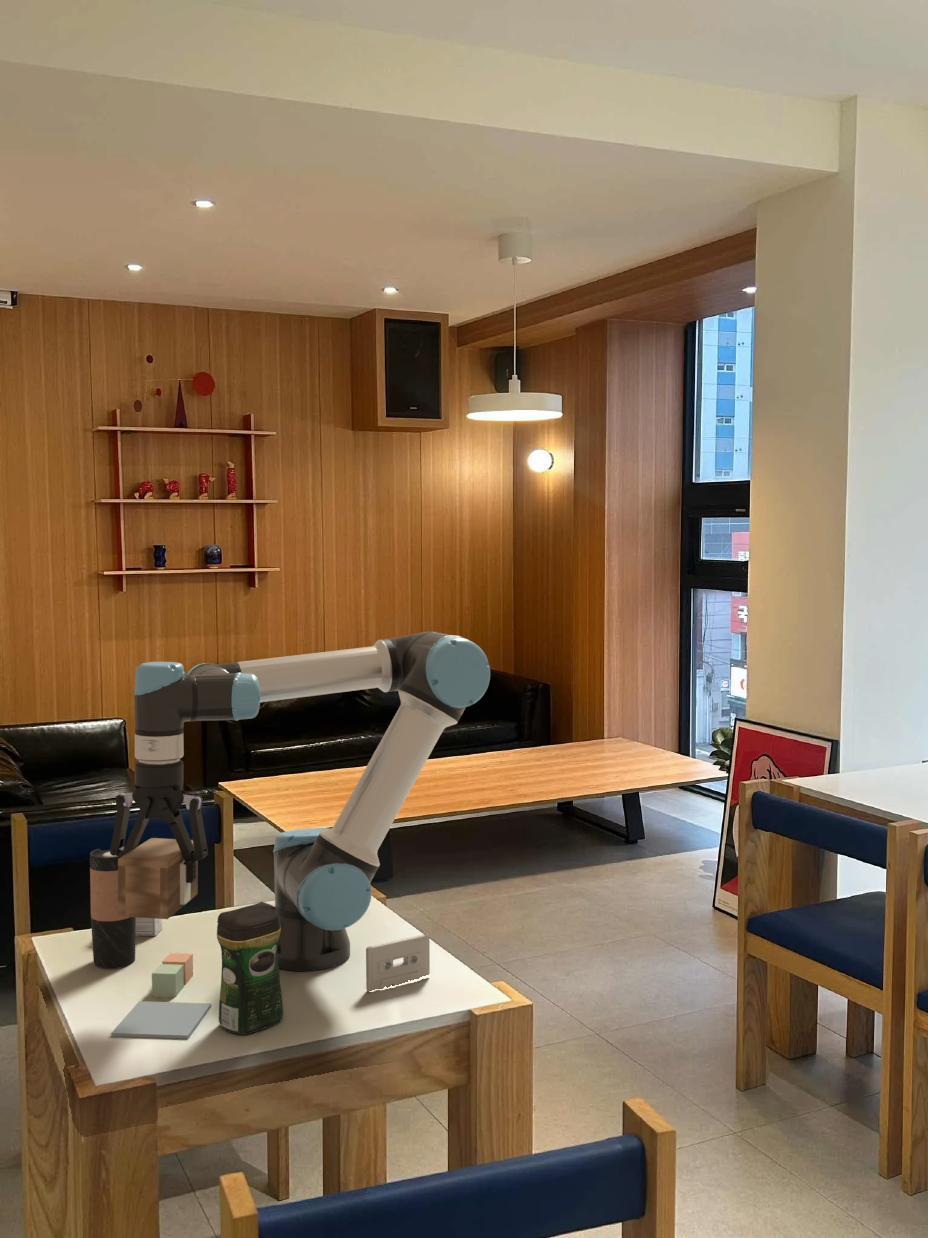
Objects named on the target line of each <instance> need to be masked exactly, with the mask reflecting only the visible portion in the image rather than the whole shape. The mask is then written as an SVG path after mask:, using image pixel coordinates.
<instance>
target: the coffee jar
mask: <svg viewBox="0 0 928 1238" xmlns="http://www.w3.org/2000/svg"><path fill="white" fill-rule="evenodd" d="M216 923H217V925H216V926H217V927H216V939H217V942H218V944H219V947H220V950H221V977H220V992H219V1005H218V1006H219V1007H218V1008H219V1009H218V1022H219V1025H220V1026H221V1027H222V1029H224V1030H225V1031H227V1032H229V1033H231V1034H240V1035H247V1034H251V1033H255V1032H258V1031H261V1030H264V1029H266V1028H269V1027H271V1026H274V1025H276V1024H278V1023H279V1022H281V1021H282V1020H283V1018H284V1005H283V995H282V987H281V981H280V971H279V969H280V968H278V957H277V947H278V940H279V936H280V932H281V926H280V920H279V914H278V911H277V908H276V907H275V905H272V904H270V903H267V902H264V901H260V902H257V903H254V904H251V905H247V906H244V907H240V908H236V909H233V910H229V911H224V912H223V911H222V912H221V913H219V914H218V916H217V922H216Z"/></svg>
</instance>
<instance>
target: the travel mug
mask: <svg viewBox="0 0 928 1238" xmlns="http://www.w3.org/2000/svg"><path fill="white" fill-rule="evenodd" d="M119 858H120V857H118V856H116V855H115V856H113V855H111V854H110V849H108V850H101V849H99V848H97V849H93V850H92V851H91V852H90V853H89V866H90V867H89V875H90V876H89V877H90V878H89V882H90V883H89V884H90V885H89V886H90V889H89V891H90V921H91V922H90V924H91V941H92V955H93V957H92V959H93V965H94V967H96V968H99V969H103V970H107V969H108V970H115V969H121V968H125V967H128V966H130V965H132V964H133V963H134V962H135V961H136V939H137V938H136V937H137V936H136V917H122V916H118V859H119ZM131 963H132V964H131ZM127 965H128V966H127ZM124 966H125V967H124ZM120 967H121V968H120Z"/></svg>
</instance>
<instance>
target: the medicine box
mask: <svg viewBox="0 0 928 1238" xmlns="http://www.w3.org/2000/svg"><path fill="white" fill-rule="evenodd" d="M162 929H163V919H154V918H138V917H136V937H156V936H157V935H158V934H159V933H160V931H162Z"/></svg>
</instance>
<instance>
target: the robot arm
mask: <svg viewBox="0 0 928 1238" xmlns="http://www.w3.org/2000/svg"><path fill="white" fill-rule="evenodd" d="M184 669H185V667H184V665H183V664H182V663H180V662H177V661H151V662H150V661H149V662H142V663H141V664H139V665H138V666H137V667H136V669H135V674H134V675H135V676H134V677H135V678H134V691H133V693H134V694H133V695H134V696H133V697H134V758H135V759H136V760H137V761H136V762H135V763H134V785H135V786H134V790H133V791H132V792H127V791H123V792H122V793H120V794H119V793H118V794H117V795H116V796H115V797H114V799H115V806H116V813H115V818H114V819H115V820H114V825H113V831H112V832H113V833H112V837H111V843H110V848H109V850H110V854H111V855H113V856H115V855H116V856H118V857H120V858H121V857H122V856H124V855H125V854H127V853H128V852H130V851H132V850H133V849H135V848H136V847H138V846H139V843H140V841H141V838H142V836H143V834H144V832H145V829H146V827H147V825H148V822H149V821H150V819H156V818H157V819H161V820H165V821H166V823H167V825H168V826H169V827H170V829H171V832H172V834H173V836H174V839H176V841H177V844H178V846H179V848H180V851H181V853H182V856H183V858H184V860H185V861H184V862H182V863H181V864H180V905H184V906H186V904H188V903H189V902H190V901H191V900H192V899H191V883H192V882H194V881H195V879H196V862H197V861H198V862H199V861H202V860H203V859H204V858H206V856H208V855H209V849H208V845H207V838H206V831H205V825H204V821H203V820H204V819H203V814H202V808H203V801H204V798H203V796H202V795H197V796H193V795H188V794H186V792H185V790H184V761H183V760H182V759H181V758H183V757H184V755H185V754H184V753H185V751H184V750H185V749H184V723H185V722H198V721H199V722H200V721H201V722H207V721H235V722H236V721H237V722H238V721H239V720H248V719H249V720H250V719H254V718H256V717H257V716H258V714H259V711H260V706H261V703H265V702H273V701H282V700H289V699H298V698H306V697H314V696H323V695H329V694H337V693H346V692H352V691H353V692H354V691H355V692H356V691H360V690H369V689H379V690H380V691H382V692H383V693H390V692H397V693H398V696H399V700H400V705H399V707H398V710H397V711H396V713H395V715H394V716H393V718H392V720H391V721H390V724H389V725H388V728H387V729H386V731H385V732H384V734H383V737H382V738H381V740H380V742H379V743H378V745H377V747H376V749H375V750H374V752H373V754H372V756H371V758H370V760H369V762H368V763H367V765H366V767H365V769H364V770H363V772H362V773H361V776H360V778H359V780H358V781H357V784H356V785H355V787H354V788H353V790H352V792H351V794H350V796H349V798H348V799H347V802H346V803H345V805H344V806H343V809H342V810H341V812H340V814H339V816H338V817H337V819H336V821H335V823H334V825H333V826H332V827H331V828H324V827H321V828H320V827H317V828H315V827H312V828H309V827H308V828H300V829H293V830H292V829H291V830H287V831H282V832H281V833H280V832H279V833H278V834H277V835H276V836H275V838H274V844H273V845H274V848H273V849H272V852H273V860H274V862H273V865H274V871H273V873H274V907H276V908H277V911H278V914H279V920H280V926H281V932H280V936H279V940H278V947H277V957H278V969H282V970H285V971H286V970H287V971H296V972H308V971H319V970H325V969H329V968H333V967H335V966H338V965H341V964H343V963H345V962H346V961H347V960H348V959H349V957H350V956H351V942H350V939H349V935H348V932H347V928H349V927H351V926H352V925H354V924H356V923H357V922H358V921H360V920H361V919H362V918H363V917H364V915H365V914H366V912H367V911H368V909H369V907H370V903H371V901H372V886H371V882H372V880H373V878H375V877H374V876H375V875H376V873H377V871H378V869H379V867H380V866H381V863H380V859H379V857H378V856H379V855H378V850H379V848H380V847H381V846H382V843H383V842H384V839H385V838H386V836H387V834H388V832H389V830H390V829H391V826H392V824H393V823H394V821H395V819H396V818H397V815H398V814H399V812H400V810H401V808H402V807H403V804H404V803H405V801H406V799H407V797H408V796H409V794H410V791H411V790H412V788H413V786H414V785H415V783H416V781H417V779H418V777H419V775H420V773H421V771H422V770H423V768H424V766H425V765H426V762H427V760H428V759H429V757H430V755H431V754H432V752H433V750H434V747H435V746H436V744H437V742H438V741H439V739H440V737H441V735H442V734H443V731H444V730H445V729H446V728H448V727H452V726H454V725H457V724H458V722H459V721H460V718H461V717H462V715H463V713H464V711H465V710H466V708H467V707H470V706H472V705H474V704H475V703H477V702H478V701H480V700H481V698H482V697H483V696H484V695H485V693H486V692H487V690H488V687H489V684H490V680H491V667H490V664H489V660H488V657H487V655H486V653H485V652H484V651H483V649H482V648H481V647H480V646H479V645H478V644H476V643H475V642H473V641H471V640H469V639H468V638H465V637H463V636H461V635H457V634H456V635H453V634H452V635H451V634H447V633H444V632H438V631H422V632H418V633H412V634H408V635H402V636H398V637H397V636H396V637H392V638H384V639H383V638H382V639H378V640H377V641H376V642H375V643H374V644H373V646H363V647H357V648H356V647H355V648H348V649H340V650H339V649H338V650H329V651H323V652H322V651H321V652H312V653H304V654H295V655H294V654H293V655H287V656H277V657H269V658H261V659H252V660H245V661H243V660H241V661H237V662H228V663H219V664H215V663H211V662H204V663H198V664H197V665H195V666H193V667H192V668H191V669H189V670H188V672H187V673H186V671H185V670H184ZM133 802H134V803H135V804H136V805H137V808H138V809H139V811H138V813H137V816H136V817H135V821H134V823H133V824H134V825H133V827H132V828H131V831H130V833H129V835H128V838H127V840H126V835H127V831H128V824H129V823H128V822H129V819H130V813H131V806H132V805H133ZM183 803H184V804H185V807H186V810H188V819H189V825H190V826H189V827H190V831H191V836H190V835H189V832H188V830H187V827H186V825H185V823H184V820H183V814H182V812H181V809H180V808H181V806H182V805H183ZM191 837H192V838H191ZM191 840H193V844H194V846H193V844H192V842H191ZM125 842H126V843H125ZM188 901H189V902H188ZM187 902H188V903H187Z"/></svg>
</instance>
